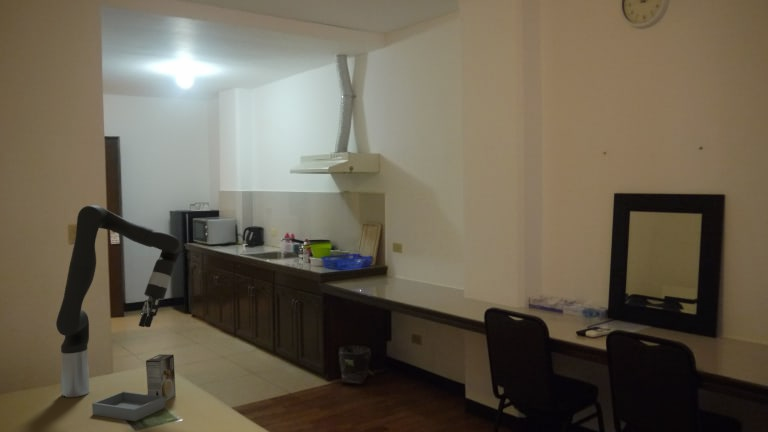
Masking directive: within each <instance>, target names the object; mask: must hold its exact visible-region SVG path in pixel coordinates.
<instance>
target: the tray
mask: <svg viewBox="0 0 768 432" xmlns="http://www.w3.org/2000/svg"><path fill="white" fill-rule="evenodd" d="M91 404H92V406H91V407H92V408H91V409H92V415H94V416H101V417H106V418H113V419H117V420H126V421H131V422H137V421H139V420H141V419H144V418H146V417H147V416H148V417H149V416H150V415H152V414H155V413H156V412H159V411H161V410H164V409H165V408H166V402H165V397H163V396H155V395H148V393H147V394H146V393H140V392H131V391H125V390H124V391H121V392H120V391H119V392H118V393H116V394H113V395H109V396H108V397H106V398H102V399H100V400H97V401H95V402H92V403H91Z"/></svg>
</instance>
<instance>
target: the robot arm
mask: <svg viewBox="0 0 768 432" xmlns="http://www.w3.org/2000/svg"><path fill="white" fill-rule="evenodd" d="M76 217H77V218H76V230H75V239H74V245H73V249H72V254H71V258H70V261H69V266H68V272H67V278H66V283H65V287H64V293H63V294H64V295H63V297H62V302H61V305H60V309H59V312H58V315H57V318H56V322H55V323H56V325H55V327H56V330H57V331H58V333H59V334H60V335H62V336H64V340H63V342H62V343H61V345H60V351H61V352H60V353H61V354H60V356H61V357H60V358H61V370H60V384H61V385H60V386H61V389H60V390H61V395H62V394H63V395H62V396H63V397H64V396H65V398H77V397H81V396H85V395H87V394H89V393H90V375H89V354H88V344H89V340H90V321H89V315H88V314H87V312H86V311H85V310H83V309H82V306H83V302H84V299H85V297H86V295H87V294H88V292H89V289H90V287H91V285H92V282H93V281H94V277H95V274H96V273H95V272H96V269H97V252H96V239H97V236H98V232H99V229H103V230H108V231H111V232H115V233H117V234H120V235H121V236H123V237H124V238H126V239H128V240H130V241H133V242H134V243H136V244H137V243H138V244H139V245H140V244H141V245H142V246H146V247H149V248H155V249H157V250H160V251H161V252H160V255H159V258H157V260H156V261H155V264H154V266H153V268H152V273H151V275H150V277H149V279H148V280H147V285H146V286H145V287H146V288H145V290H144V296H145V297H148V298H147V299H145V300H144V304H143V305H142V309H141V311H140V316H141V317H140V320H139V323H138V327H141V328H145V327H146V328H150V327H151V325H152V323H153V320H154V318H155V317H156V316H157V313H158V309H159V307H160V303H161V301H163V300H164V299H165V298H166V295H167V291H168V287H169V285H170V281H171V277H172V273H173V270H174V267H175V264H176V262H177V260H178V259H179V256H180V254H181V250H182V244H181V242H180V239H178V237H177V236H175V235H173V234H169V233H166V232H163V231H157V230H155V229H153V228H150V227H147V226H145V225H142V224H139V223H136V222H134V221H130V220H128V219H126V218H123V217H121V216H119V215H118V214H115V213H113V212H111V211H110V210H108V209H106V208H105V207H103V206H101V205H97V204H95V205H93V204H92V205H85V206H84V207H82V208H81V209H80V210H79V211H78V214H77V216H76Z"/></svg>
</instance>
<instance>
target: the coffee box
mask: <svg viewBox="0 0 768 432" xmlns="http://www.w3.org/2000/svg"><path fill="white" fill-rule="evenodd" d="M174 356H175V355H174V354H161V353H160V354H157V355H155V356H153V357H151V358H149V359H146V360H145V367H146V368H145V369H146V384H147V385H146V388H147V394H148V395H155V396H163V397H165V403H166V402H167V401H168V400H170V399H172V398H174V397H176V395H177V393H176V391H177V390H176V375H175V374H176V373H175V358H174Z"/></svg>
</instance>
